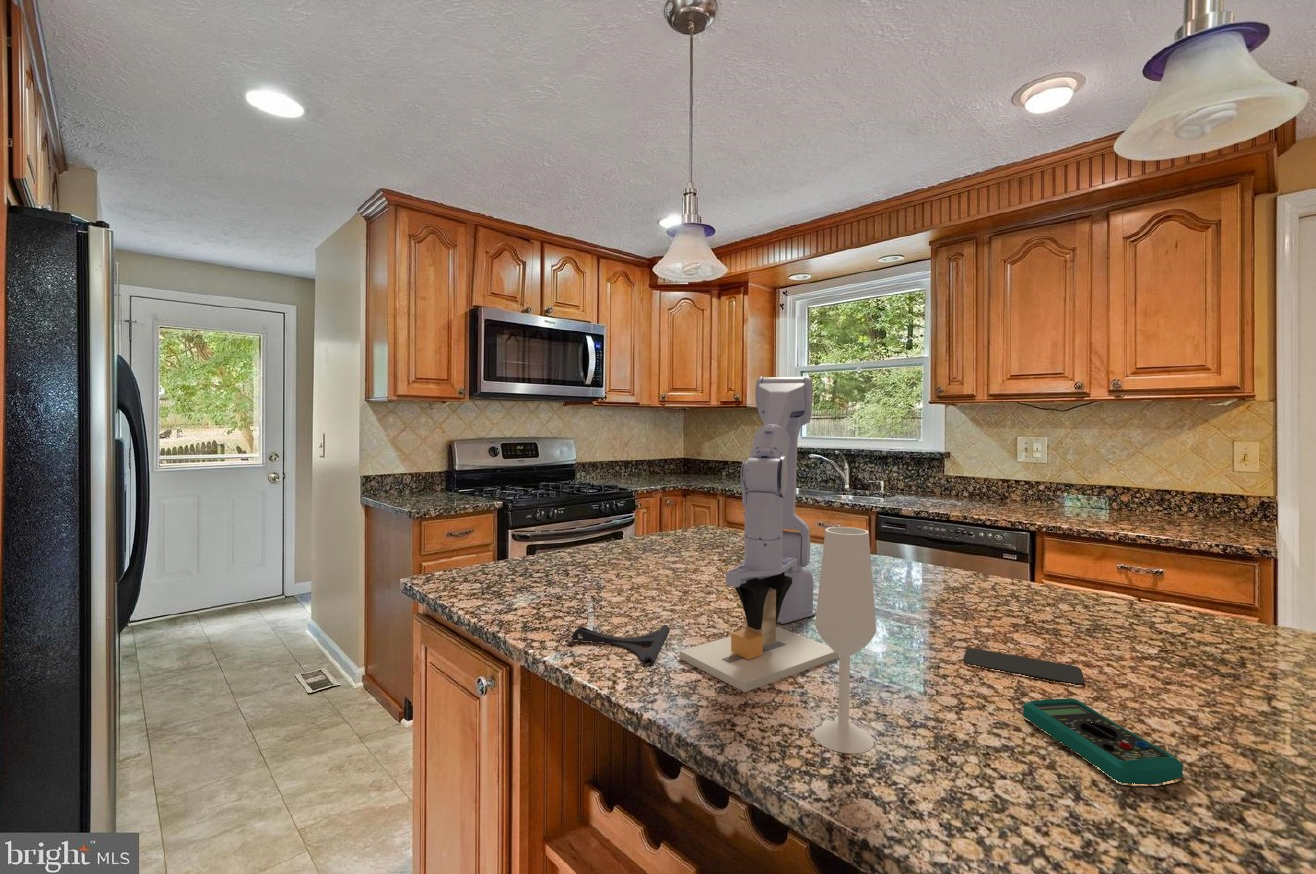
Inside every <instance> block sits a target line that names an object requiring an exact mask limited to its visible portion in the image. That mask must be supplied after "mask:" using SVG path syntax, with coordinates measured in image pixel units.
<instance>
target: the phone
mask: <svg viewBox="0 0 1316 874" xmlns="http://www.w3.org/2000/svg"><path fill="white" fill-rule="evenodd" d="M965 649H966V650H965V653H964V656H963V659H962V662H963V661H964V663H967V664H970V665H976V666H980V667H984V668H988V669H994V670H1000V671H1005V672H1010V673H1015V674H1021V675H1025V676H1029V677H1034V678H1039V679H1045V680H1049V681H1055V682H1065V683H1071V684H1075V685H1083V683H1084V675H1083V672H1082V669H1081V667H1078V666H1077V665H1076V666H1075V665H1072V664H1067V663H1060V662H1057V661H1056V662H1055V661H1049V660H1043V659H1039V658H1032V657H1026V656H1020V655H1015V654H1010V653H1009V654H1008V653H1003V652H998V651H991V650H986V649H980V648H973V647H969V648H965ZM964 663H963V664H964Z"/></svg>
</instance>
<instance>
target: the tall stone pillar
mask: <svg viewBox="0 0 1316 874" xmlns="http://www.w3.org/2000/svg"><path fill="white" fill-rule="evenodd" d="M776 627H777V623H776V589H772V588H770V589H769V591H768V593H767V596H766V599H765V603H764V609H763V621H762V626H761V629H760V630H756V629H753V628H750V627H748V624H747V620H746V619H745V629H748V630H750V631H753V632H755V633H758V634H760V635H763V646H765V645H767V644H770V643H773V642H775V641H776Z"/></svg>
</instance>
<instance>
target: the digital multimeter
mask: <svg viewBox="0 0 1316 874" xmlns="http://www.w3.org/2000/svg"><path fill="white" fill-rule="evenodd" d="M1022 709H1023V711H1022V713H1023V714H1022V715H1023V716H1022V718H1023V717H1025V718H1027V719H1028V720H1030V721H1031V722H1032V723H1034V724H1035V725H1036V726H1038V727H1039V728H1040V729H1043V730H1044V731H1046V732H1047V733H1048V734H1050V735H1051V736H1052V737H1054V738H1055V739H1056V740H1058V741H1060V742H1062V743H1063V744H1064V745H1066V746H1068V747H1069V748H1070V749H1072V750H1073V751H1075V752H1077V753H1079V754H1080V755H1081V756H1082V757H1084V758H1085V759H1087V760H1088V761H1089V762H1091V763H1092V764H1094V765H1095V766H1097V767H1099V768H1100V769H1101V770H1102V771H1104V772H1105V773H1106V774H1108V775H1109V776H1111V777H1112V778H1113V779H1115V780H1117V781H1118V782H1121V783H1128V784H1129V783H1130V784H1132V783H1133V784H1134V783H1135V784H1156V783H1157V784H1158V783H1163V782H1167V781H1171V780H1174V779H1177V778H1180V777H1182V778H1183V775H1184V774H1183V771H1184V769H1183V768H1184V764H1183V762H1181V761H1180V760H1179V759H1178V758H1177V757H1175V756H1174V754H1171V753H1169V752H1167V751H1165V749H1162V748H1160V747H1159V746H1157V745H1156V744H1155V745H1154V744H1153V743H1151V742H1150V741H1148V740H1146V739H1145V738H1143V737H1140V736H1139V735H1138V734H1135V733H1134V732H1132V731H1130V730H1128V729H1126V728H1125V727H1123V726H1121V725H1119V724H1118V723H1117V722H1115V721H1113V720H1111V719H1110V718H1107V717H1106V716H1104V715H1102V713H1099V712H1098V711H1096V710H1095V709H1092V707H1089V706H1088V705H1086V704H1084V702H1081V701H1080V700H1078V699H1076V698H1050V699H1049V698H1048V699H1040V700H1039V699H1037V700H1030V701H1027V702H1024V703H1023V708H1022ZM1091 722H1092V723H1091ZM1052 737H1051V738H1052ZM1055 739H1054V740H1055ZM1056 740H1055V741H1056ZM1058 741H1057V742H1058Z"/></svg>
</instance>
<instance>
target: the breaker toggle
mask: <svg viewBox="0 0 1316 874" xmlns="http://www.w3.org/2000/svg"><path fill="white" fill-rule="evenodd" d="M730 634H731V635H730V636H731V652H733V653H735V654H737V655H739V656H742V657H744V658H746V659H751V658H754V657H757V656H760V655H763V635H760V634H758V633H755V632H753V631H750V630H748V629H746V628H743V629H740V630H736V631H733V632H731V633H730Z"/></svg>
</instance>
